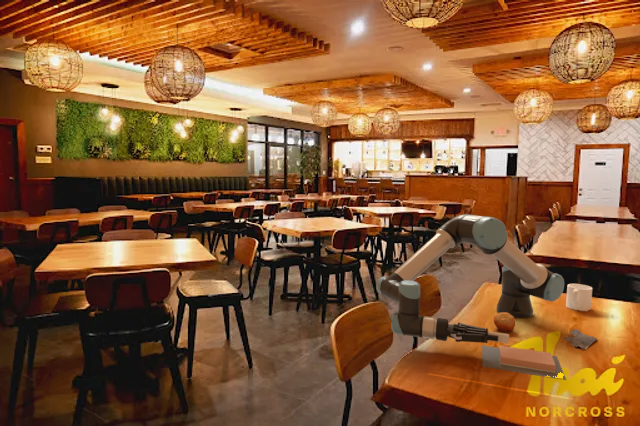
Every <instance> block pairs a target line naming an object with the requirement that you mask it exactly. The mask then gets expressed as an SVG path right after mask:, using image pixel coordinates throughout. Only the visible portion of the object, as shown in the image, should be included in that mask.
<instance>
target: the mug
mask: <svg viewBox="0 0 640 426" xmlns="http://www.w3.org/2000/svg"><path fill="white" fill-rule="evenodd" d="M592 297H593V287H592V286H589V285H587V284H579V283H569V284H567V288H566V301H565V306H566V308H567V309H570V310H573V309H574V310H573V311H577V310H580V311H579V312H589V311H588V310H590V309H592V308H591V307H592V300H593V299H592ZM590 311H591V310H590Z"/></svg>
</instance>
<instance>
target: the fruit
mask: <svg viewBox="0 0 640 426" xmlns="http://www.w3.org/2000/svg"><path fill="white" fill-rule="evenodd" d="M515 318H516V317H513V316H512V315H510V314H509V313H507V312H501V313H499V312H497V314H495V315H494V317H493V323H494V325H495V327H496V329H497V330H498V331H500V332H505V333H506V332H509V333H511V332H513V331H514V330H515V327H516V319H515Z"/></svg>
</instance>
